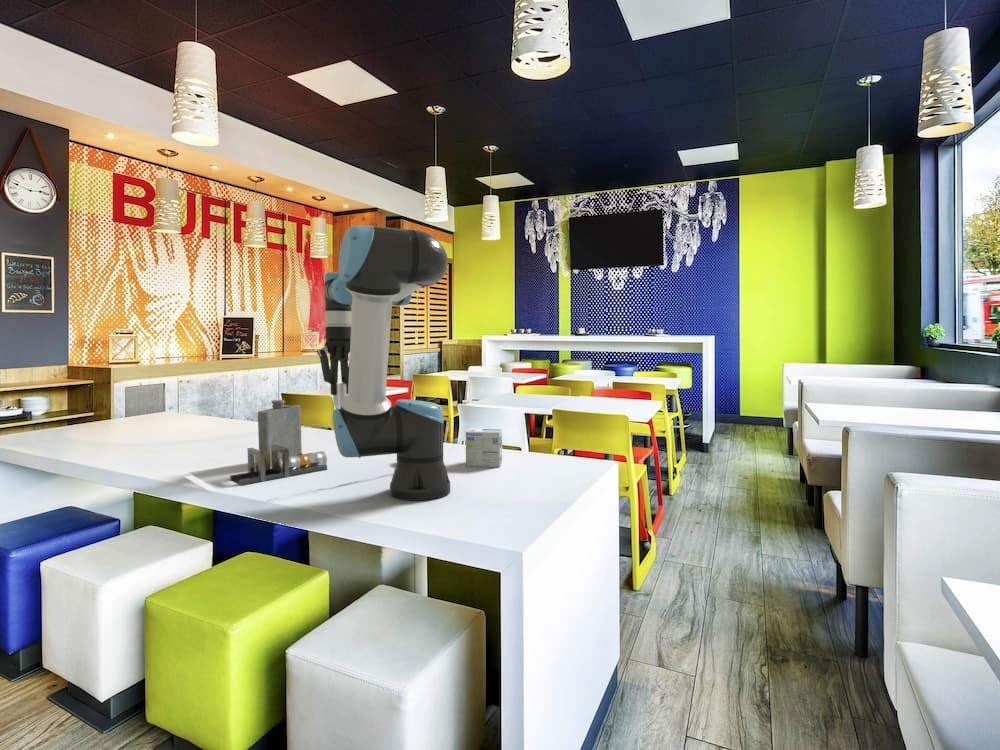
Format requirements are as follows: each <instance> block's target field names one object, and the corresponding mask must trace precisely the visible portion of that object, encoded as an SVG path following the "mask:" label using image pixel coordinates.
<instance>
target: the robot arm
mask: <svg viewBox="0 0 1000 750" xmlns="http://www.w3.org/2000/svg"><path fill="white" fill-rule="evenodd" d="M448 266H449V259H448V254H447V252H446V250H445V248H444V245H442V243H441V241H439V240H438V239H437V238H435V237H434V236H433V235H432V234H429V233H427V232H426V231H422V230H418V229H404V228H396V227H386V226H384V227H383V226H375V225H352V226H350V227H349V228H347V230H346V231H345V233H344V235H343V237H342V240H341V243H340V248H339V254H338V267H337V268H338V270H337V271H330V272H329V271H328V272H326V273H325V274H324V282H323V287H324V316H325V317H324V322H325V323H324V324H325V325H326V326H325V327H324V332H325V334H324V335H325V336H324V337H325V343H324V346H323V347H321V348H318V349H317V350H316V353H317V354H318V357H319V359H320V361H319V362H320V366H321V370H322V376H323V377H322V378H323V381H324V382H326V383H328V384H330V395H331V396H332V397H333V398H332V400H333V405H332V406H334V407H340V408H336V409H334V410H333V411H332V423H333V430H334V431H333V432H334V437H335V442H336V445H337V449H338V452H339V453H340V455H341V456H343V457H344V458H359V459H360V458H362V457H364V458H365V457H374V456H383V455H393V454H394V455H395V454H396V462H395V463H396V464H395V467H394V471H393V474H392V476H391V477H392V478H391V481H390V483H389V494H390V496H391V497H393V498H396V499H398V500H399V499H400V500H405V501H428V500H435V499H439V498H443V497H445V496H448V495H449V494H450V493H451V481H450V478H449V476H448V471H447V468H446V466H445V462H444V423H445V421H444V414H443V413H444V412H443V408H442V406H441V405H439V404H438V403H435V402H430V401H424V400H415V399H397V400H396V401H395V403H394V404H395V405H394V406H393V405H392V402H391V400H390V399H388V397H387V396H386V394H387V382H388V381H387V380H388V369H389V368H388V366H389V365H388V364H389V354H390V353H389V352H390V339H391V338H390V337H391V324H392V312H393V311H392V310H393V306H395V307H400V306H408V305H409V304H410V302H411V300H412V296H413V295H412V294H413V293H414V292H416V291H418V290H420V289H421V288H422V287H424V288H425V287H426V288H427V287H431V286H433V285H435V284H437V283H438V282H439V281H441V280H442V279H443V278H444V276H445V275H446V273H447V271H448ZM328 354H329V356H328ZM329 361H330V363H329ZM339 364H340V377H341V382H340V383H338V381H339V379H338V378H339Z"/></svg>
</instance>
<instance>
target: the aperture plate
mask: <svg viewBox="0 0 1000 750" xmlns="http://www.w3.org/2000/svg"><path fill="white" fill-rule="evenodd" d="M264 452H265V469H271V468H270V451H264ZM254 464H255V471H258V457H257V456H255V455H254Z"/></svg>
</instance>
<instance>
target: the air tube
mask: <svg viewBox="0 0 1000 750" xmlns="http://www.w3.org/2000/svg"><path fill="white" fill-rule="evenodd" d="M327 461H328V458H327V455H326V452H325V451H323V450H322V451H316V452H315V451H314V452H310V453H303V452H302V453H301V454H299V455H295V456H289V471H292V470H298V469H304V468H309V467H315V466H320V465H327ZM276 468H277V471H278V473H281V472H283V462H282V458H278V459H277V461H276Z"/></svg>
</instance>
